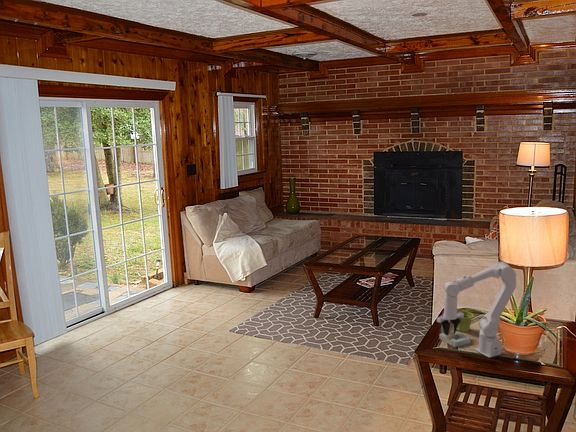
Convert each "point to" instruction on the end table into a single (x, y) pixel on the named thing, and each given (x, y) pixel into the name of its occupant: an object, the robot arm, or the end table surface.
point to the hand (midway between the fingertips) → (449, 333)
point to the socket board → (461, 340)
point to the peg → (450, 332)
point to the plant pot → (465, 321)
